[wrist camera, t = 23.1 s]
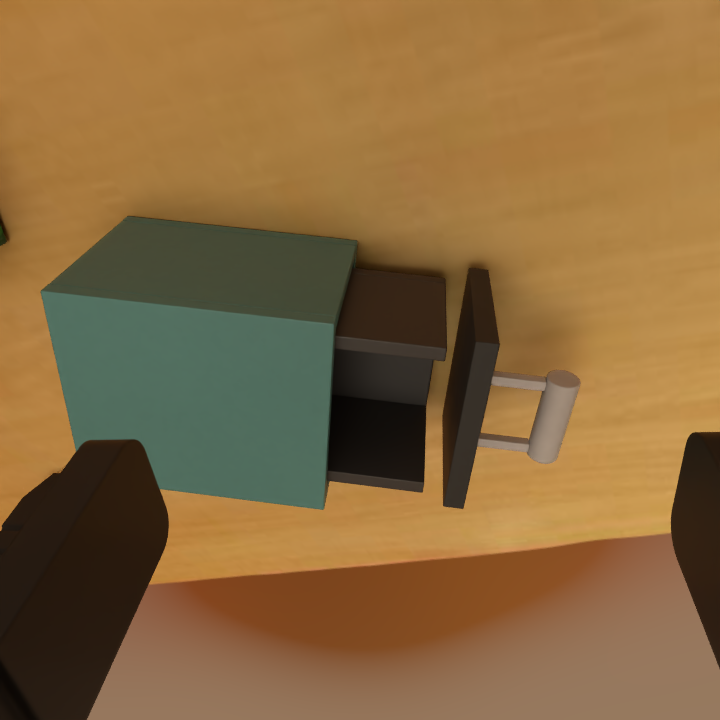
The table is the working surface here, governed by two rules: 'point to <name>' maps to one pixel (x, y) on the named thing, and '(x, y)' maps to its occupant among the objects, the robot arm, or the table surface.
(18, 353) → the table surface
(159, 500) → the robot arm
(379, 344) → the drawer
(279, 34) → the table surface
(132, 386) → the teal cabinet housing
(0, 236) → the chalk box
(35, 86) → the table surface
